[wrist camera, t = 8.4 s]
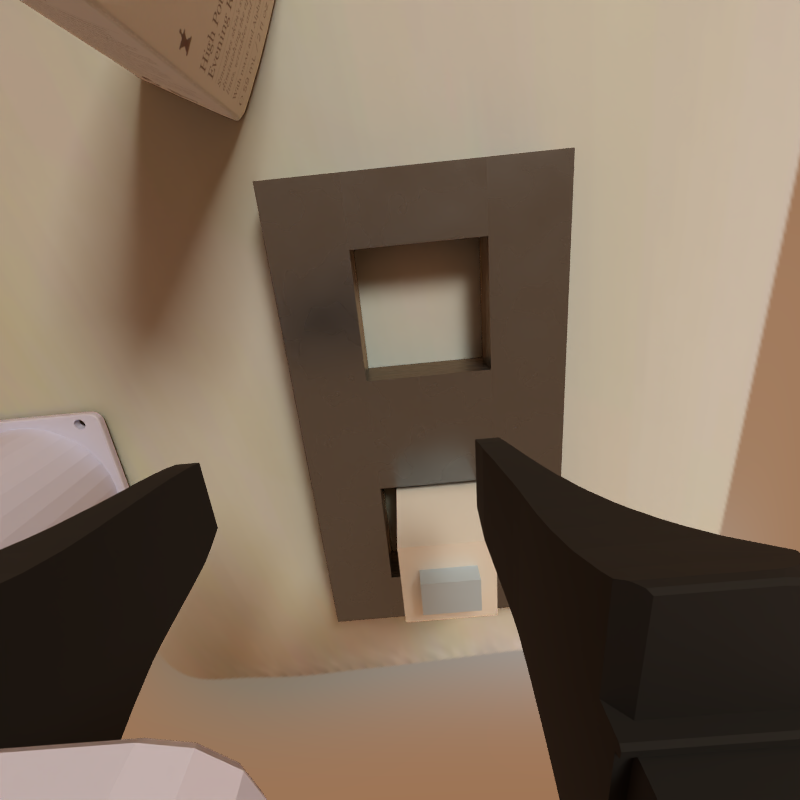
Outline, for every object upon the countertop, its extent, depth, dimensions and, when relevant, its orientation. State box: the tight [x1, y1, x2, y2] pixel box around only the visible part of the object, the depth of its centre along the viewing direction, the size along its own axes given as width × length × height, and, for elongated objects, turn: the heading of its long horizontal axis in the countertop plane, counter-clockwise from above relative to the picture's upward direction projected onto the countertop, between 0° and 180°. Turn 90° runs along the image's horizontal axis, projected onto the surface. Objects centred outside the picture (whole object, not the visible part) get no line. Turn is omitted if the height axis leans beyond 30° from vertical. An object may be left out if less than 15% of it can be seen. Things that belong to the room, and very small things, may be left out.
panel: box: [253, 148, 575, 622], centre depth 21 cm, size 12×22×2 cm, turn 5°
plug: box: [396, 480, 498, 622], centre depth 21 cm, size 4×4×7 cm
